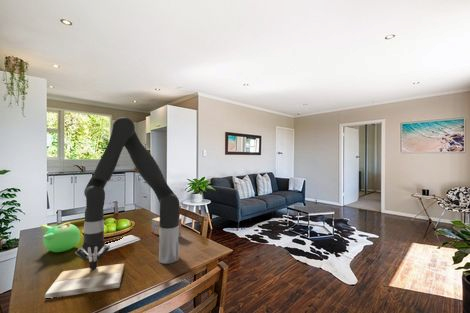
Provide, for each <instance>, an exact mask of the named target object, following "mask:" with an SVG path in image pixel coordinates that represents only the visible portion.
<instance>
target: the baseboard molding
mask: <svg viewBox="0 0 470 313" xmlns="http://www.w3.org/2000/svg"><path fill="white" fill-rule="evenodd" d="M122 237H123V238H122ZM122 237H121V238H122V239H120V240H118V241H115V242H111V243H108V244H106V245H107V246H108V245H109V246H110V248H109V250H108V251H107V252H110V251H114V250H116V249H119V248H122V247H124V246H127V245H130V244H133V243H136V242H139V241H141V238H140V237H138V236H135V235H132V234H129V235H126V236H122ZM103 248H104V247H103ZM103 248H102V249H101V250H100V251H99V253H98V255H100V254H101V253H102V252H103V251H104V250H103ZM84 252H85V253H86V254H87V255H88V253H87V252H86V251H85V250H84ZM74 253H75V255H77V256H78V257H80V256H79V255H78V254H77V250H75V251H74ZM93 255H94V254H93Z"/></svg>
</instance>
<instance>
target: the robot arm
mask: <svg viewBox="0 0 470 313" xmlns="http://www.w3.org/2000/svg"><path fill="white" fill-rule="evenodd" d="M135 128H136V127H135V123H134V122H133V120H132V119H130V118H128V117H123V116H122V117H118V118H117V119H115V121H114V122H113V123H112V129H111V134H110V138H109V140H108V142H107V145H106V148H105V150H104V151H103V154H102V155H101V157H100V159H99V162H98V163H97V164H96V168H95V169H94V172H93V174H92V176H91V178H90V179H89V181H88V183H87V184H86V186H85V188H84V191H83V192H84V193H83V195H84V196H85V198H86V199H85V201H86V203H85V204H86V205H85V206H86V207H85V210H84V224H83V244H82V247H80V248H78V249H77V250H76V251H77V254H78V255H79V256H78V255H77V256H78V257H80V259H82V260H83V261H84V262H87V261H88V262H89V267H88V268H90V269H91V270H95V268H97V267H99V266H98V263H99V260H101V259H102V258H103V257H104V256H105V255H106V254H107V252H109V251H108V250H109V248H110V246H109V245H108V246H107V245H106V244H105V243H106V241H105V240H104V239H105V234H104V233H105V221H104V206H105V199H106V192H105V189H104V188H106V185H107V182H109V181H110V180H111V178H112V177H113V174H114V172H115V170H116V167H117V165H118V162H119V159H120V156H121V154H122V151H123V149H124V148H125V149H126V151H127V153H128V154H129V156H130V159H131V161H132V162H133V164H134V166H135V169H136V170H137V172H138V173H139V175H140V177H141V178H143V180H144V182H146V184H147V185H148V186H149V187H150V188H151V189H152V190H153V192H154V194H155V197H157V198H156V199H157V200H158V203H159V217H160V228H159V235H158V237H159V238H158V239H159V240H158V241H159V242H158V262H159V263H161V264H165V265H168V264H173V263H175V262H179V255H180V254H179V251H180V250H179V247H180V243H179V238H178V227H179V218H180V210H181V209H180V207H181V206H180V205H181V204H180V200H179V198H178V196H177V195H176V194H175V192H174V191H173V190H172V189H171V187H170V186H169V185H168V183H167V180H166V179H165V177H164V174H163V173H162V170H161V168H160V167H159V165H158V162H156V159H155V158H154V157H153V155H152V154H151V153H150V152H149V151H148V149H147V148H146V147H145V146H144V145H143V143H142V142H141V140H140V138H139V137H138V134H137V133H136V130H135ZM103 247H104V248H103ZM102 248H103V250H104V251H103V252H102V253H101V254H98V253H99V251H100V250H101V249H102ZM84 250H85V251H86V252H87V253H88V255H87V254H86V253H85V252H84ZM93 254H94V255H93Z"/></svg>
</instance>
